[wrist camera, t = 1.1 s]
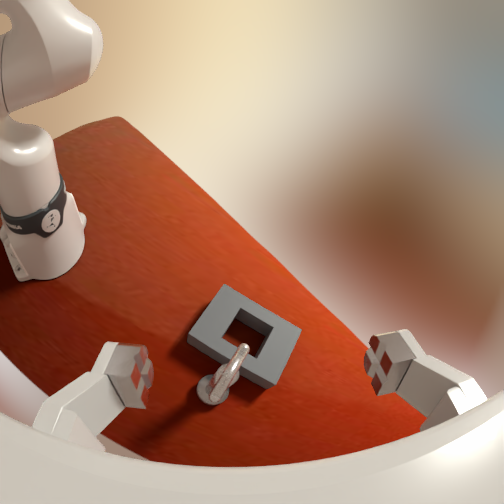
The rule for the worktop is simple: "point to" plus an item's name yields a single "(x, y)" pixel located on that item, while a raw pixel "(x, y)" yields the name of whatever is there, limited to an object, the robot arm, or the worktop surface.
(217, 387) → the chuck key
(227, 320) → the grey block with hole
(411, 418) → the worktop surface
